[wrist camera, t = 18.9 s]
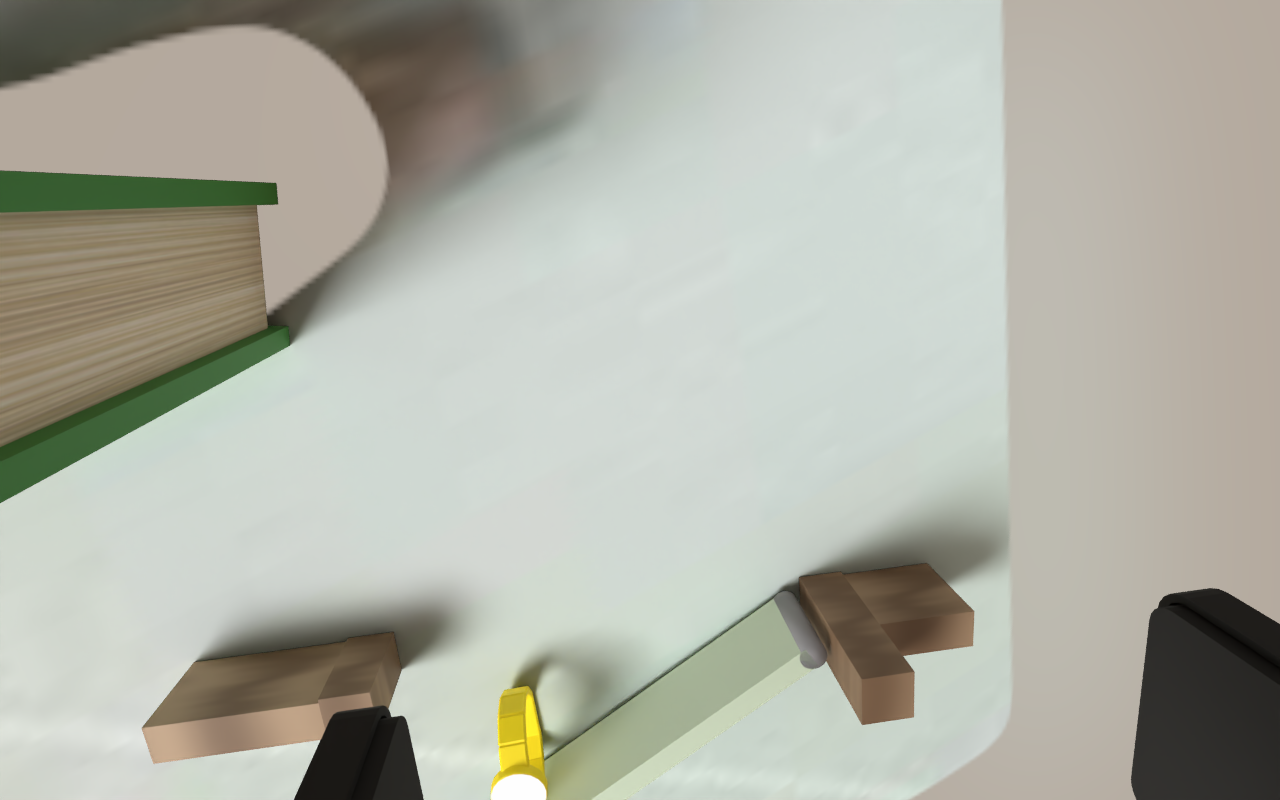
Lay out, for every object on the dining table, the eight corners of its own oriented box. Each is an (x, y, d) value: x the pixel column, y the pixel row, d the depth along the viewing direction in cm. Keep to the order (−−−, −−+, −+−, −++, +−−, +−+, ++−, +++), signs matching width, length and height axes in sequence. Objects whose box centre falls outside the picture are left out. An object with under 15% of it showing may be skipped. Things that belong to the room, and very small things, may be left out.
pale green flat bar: (787, 586, 40) (817, 639, 36) (811, 617, 41) (844, 672, 36) (483, 802, 42) (473, 879, 38) (511, 828, 43) (505, 907, 38)
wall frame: (926, 560, 41) (1022, 656, 33) (926, 597, 42) (1019, 701, 33) (193, 658, 39) (85, 792, 30) (204, 697, 39) (103, 838, 31)
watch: (557, 746, 43) (558, 837, 37) (510, 755, 42) (503, 848, 37) (539, 663, 41) (536, 747, 35) (489, 672, 40) (478, 758, 35)
